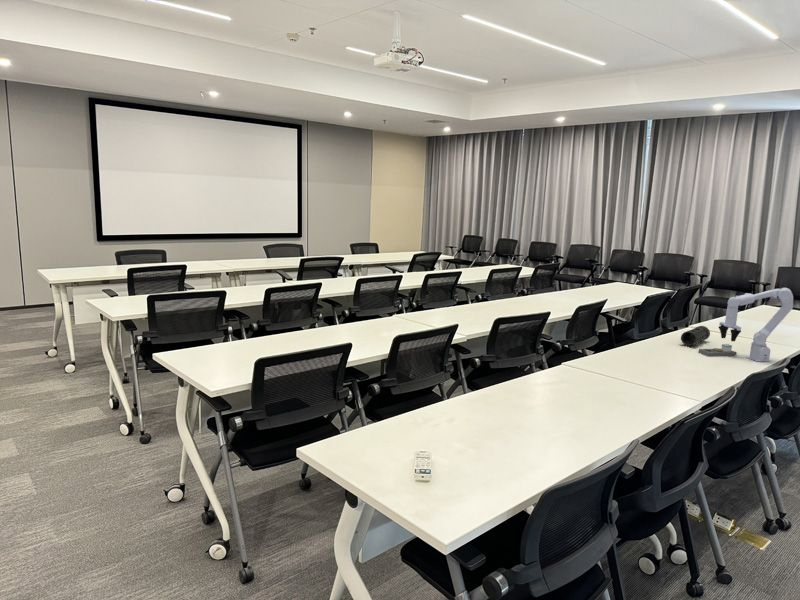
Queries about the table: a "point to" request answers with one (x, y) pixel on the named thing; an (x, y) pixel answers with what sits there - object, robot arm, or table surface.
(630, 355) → the table surface
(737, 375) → the table surface
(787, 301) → the robot arm
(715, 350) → the socket board
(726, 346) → the grey plug
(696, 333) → the muzzle brake
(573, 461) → the table surface
